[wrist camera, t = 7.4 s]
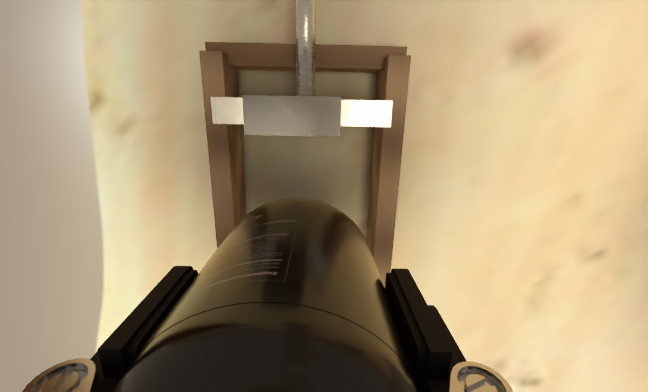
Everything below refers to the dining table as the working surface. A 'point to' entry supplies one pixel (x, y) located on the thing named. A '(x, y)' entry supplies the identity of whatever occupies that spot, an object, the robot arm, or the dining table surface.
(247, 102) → the pusher
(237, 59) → the brown wooden open box
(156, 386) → the supplement bottle
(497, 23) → the dining table surface
